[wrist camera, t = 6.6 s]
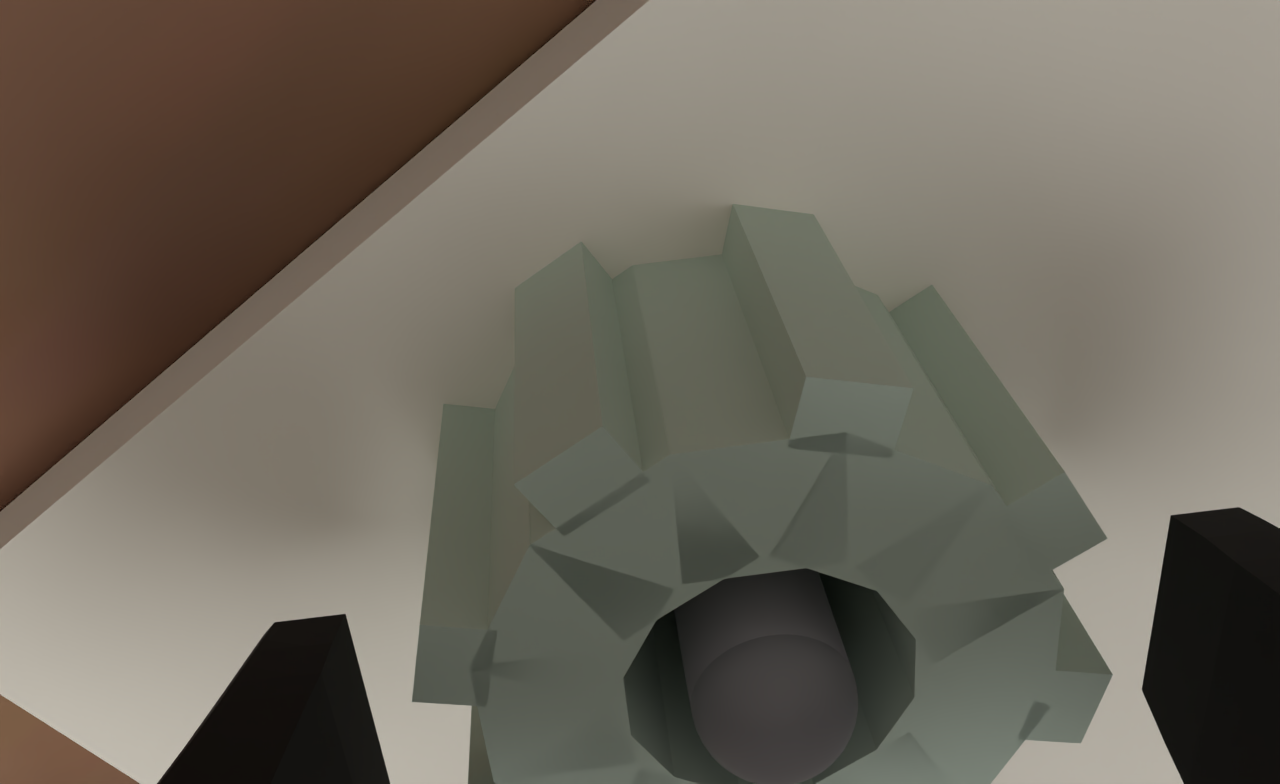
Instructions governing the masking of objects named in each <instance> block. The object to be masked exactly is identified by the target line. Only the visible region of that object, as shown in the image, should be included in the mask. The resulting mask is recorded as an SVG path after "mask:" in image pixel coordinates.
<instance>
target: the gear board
mask: <svg viewBox="0 0 1280 784" xmlns="http://www.w3.org/2000/svg"><path fill="white" fill-rule="evenodd" d="M733 204H738V205H746V206H753V207H761V208H769V209H776V210H784V211H792V212H799V213H807V214H814V216H815V217H816V219H817V221H818V223H819V224H820V226H821V228H822V230H823V231H824V233H825V235H826V237H827V238H828V240H829V242H830V244H831V245H832V247H833V249H834V251H835V252H836V254H837V256H838V258H839V259H840V261H841V263H842V264H843V266H844V268H845V270H846V271H847V273H848V275H849V277H850V278H851V280H852V282H853V284H854V285H855V286H856V287H859V288H861V289H864V290H866V291H869V292H871V293H874V294H876V295H878V296H879V298H880V300H881V301H882V303H883V304H884V306H885V307H886V309H887V310H888V311H889V312H890V311H892V310H893V309H895V308H896V307H898V306H900V305H901V304H903V303H904V302H906V301H907V300H909V299H910V298H912V297H913V296H915V295H917V294H918V293H920V292H921V291H923V290H924V289H926V288H927V287H929V286H931V285H933V287H934V288H935V289H936V291H937V292H938V294H939V295H940V296H941V298H942V299H943V301H944V302H945V304H946V305H947V306H948V308H949V309H950V311H951V312H952V313H953V315H954V316H955V318H956V319H957V320H958V322H959V323H960V325H961V326H962V328H963V329H964V330H965V332H966V333H967V335H968V336H969V337H970V339H971V340H972V342H973V343H974V344H975V346H976V347H977V349H978V350H979V352H980V353H981V354H982V356H983V357H984V359H985V360H986V361H987V363H988V364H989V366H990V367H991V368H992V370H993V371H994V373H995V374H996V376H997V377H998V378H999V380H1000V381H1001V383H1002V384H1003V385H1004V387H1005V388H1006V390H1007V391H1008V392H1009V394H1010V395H1011V397H1012V398H1013V400H1014V401H1015V402H1016V404H1017V405H1018V407H1019V408H1020V409H1021V411H1022V412H1023V414H1024V415H1025V416H1026V418H1027V419H1028V421H1029V422H1030V423H1031V425H1032V426H1033V428H1034V429H1035V431H1036V432H1037V433H1038V435H1039V436H1040V438H1041V439H1042V440H1043V442H1044V443H1045V445H1046V446H1047V447H1048V449H1049V450H1050V452H1051V453H1052V455H1053V456H1054V457H1055V459H1056V460H1057V462H1058V463H1059V464H1060V466H1061V467H1062V469H1063V470H1064V471H1065V473H1066V475H1067V476H1068V478H1069V479H1070V481H1071V482H1072V484H1073V485H1074V487H1075V489H1076V490H1077V492H1078V493H1079V495H1080V496H1081V498H1082V499H1083V501H1084V503H1085V504H1086V506H1087V507H1088V509H1089V510H1090V512H1091V513H1092V515H1093V517H1094V518H1095V520H1096V521H1097V523H1098V524H1099V526H1100V527H1101V529H1102V530H1103V532H1104V534H1105V535H1106V537H1107V538H1108V539H1106V540H1104V541H1103V542H1101V543H1099V544H1097V545H1096V546H1094V547H1092V548H1090V549H1089V550H1087V551H1085V552H1083V553H1081V554H1080V555H1078V556H1076V557H1074V558H1073V559H1071V560H1069V561H1067V562H1066V563H1064V564H1062V565H1060V566H1059V567H1057V568H1055V569H1053V572H1054V573H1055V575H1056V576H1057V578H1058V580H1059V581H1060V583H1061V585H1062V586H1063V588H1064V595H1065V597H1066V599H1067V600H1068V602H1069V604H1070V605H1071V607H1072V608H1073V610H1074V612H1075V613H1076V615H1077V617H1078V618H1079V620H1080V622H1081V623H1082V625H1083V626H1084V628H1085V630H1086V631H1087V633H1088V635H1089V636H1090V638H1091V640H1092V641H1093V643H1094V644H1095V646H1096V648H1097V649H1098V651H1099V653H1100V654H1101V656H1102V658H1103V659H1104V661H1105V662H1106V664H1107V666H1108V667H1109V669H1110V671H1111V672H1112V674H1113V676H1112V678H1111V680H1110V682H1109V684H1108V686H1107V689H1106V691H1105V693H1104V695H1103V697H1102V699H1101V701H1100V704H1099V706H1098V708H1097V710H1096V712H1095V714H1094V716H1093V719H1092V721H1091V723H1090V725H1089V727H1088V729H1087V731H1086V734H1085V736H1084V738H1083V740H1082V742H1081V743H1066V742H1050V741H1034V740H1025V741H1024V742H1023V744H1022V745H1021V746H1020V747H1019V749H1018V750H1017V751H1016V752H1015V754H1014V755H1013V756H1012V757H1011V759H1010V760H1009V761H1008V763H1007V764H1006V765H1005V766H1004V768H1003V769H1002V770H1001V771H1000V773H999V774H998V775H997V776H996V778H995V779H994V780H993V781H992V783H991V784H1184V783H1183V781H1182V779H1181V777H1180V774H1179V772H1178V770H1177V768H1176V766H1175V764H1174V762H1173V760H1172V758H1171V755H1170V753H1169V751H1168V749H1167V747H1166V745H1165V742H1164V740H1163V738H1162V735H1161V733H1160V731H1159V729H1158V726H1157V724H1156V722H1155V719H1154V717H1153V715H1152V712H1151V710H1150V708H1149V705H1148V703H1147V701H1146V699H1145V696H1144V694H1143V692H1142V685H1143V679H1144V673H1145V667H1146V661H1147V655H1148V649H1149V643H1150V637H1151V631H1152V625H1153V619H1154V613H1155V607H1156V601H1157V595H1158V589H1159V583H1160V577H1161V571H1162V564H1163V558H1164V552H1165V546H1166V540H1167V534H1168V528H1169V522H1170V516H1171V515H1177V514H1185V513H1194V512H1202V511H1210V510H1219V509H1227V508H1235V507H1240V508H1242V509H1244V510H1246V511H1248V512H1250V513H1252V514H1254V515H1256V516H1258V517H1260V518H1262V519H1263V520H1265V521H1267V522H1269V523H1271V524H1273V525H1274V526H1276V527H1278V528H1280V0H596V1H595V2H594V3H593V4H592V5H590V6H589V7H588V8H587V9H586V10H585V11H583V12H582V13H581V14H580V15H579V16H578V17H576V18H575V19H574V20H573V21H572V22H571V23H569V24H568V25H567V26H566V27H565V28H564V29H562V30H561V31H560V32H559V33H558V34H557V35H555V36H554V37H553V38H552V39H551V40H550V41H548V42H547V43H546V44H545V45H544V46H543V47H541V48H540V49H539V50H538V51H537V52H536V53H534V54H533V55H532V56H531V57H530V58H529V59H527V60H526V61H525V62H524V63H523V64H522V65H520V66H519V67H518V68H517V69H516V70H515V71H513V72H512V73H511V74H510V75H509V76H508V77H506V78H505V79H504V80H503V81H502V82H501V83H499V84H498V85H497V86H496V87H495V88H494V89H492V90H491V91H490V92H489V93H488V94H487V95H485V96H484V97H483V98H482V99H481V100H480V101H478V102H477V103H476V104H475V105H474V106H473V107H471V108H470V109H469V110H468V111H467V112H466V113H464V114H463V115H462V116H461V117H460V118H459V119H458V120H456V121H455V122H454V123H453V124H452V125H451V126H449V127H448V128H447V129H446V130H445V131H444V132H442V133H441V134H440V135H439V136H438V137H437V138H435V139H434V140H433V141H432V142H431V143H430V144H428V145H427V146H426V147H425V148H424V149H423V150H421V151H420V152H419V153H418V154H417V155H416V156H414V157H413V158H412V159H411V160H410V161H409V162H407V163H406V164H405V165H404V166H403V167H402V168H400V169H399V170H398V171H397V172H396V173H395V174H393V175H392V176H391V177H390V178H389V179H388V180H386V181H385V182H384V183H383V184H382V185H381V186H379V187H378V188H377V189H376V190H375V191H374V192H372V193H371V194H370V195H369V196H368V197H367V198H365V199H364V200H363V201H362V202H361V203H360V204H358V205H357V206H356V207H355V208H354V209H353V210H351V211H350V212H349V213H348V214H347V215H346V216H344V217H343V218H342V219H341V220H340V221H339V222H337V223H336V224H335V225H334V226H333V227H332V228H330V229H329V230H328V231H327V232H326V233H325V234H323V235H322V236H321V237H320V238H319V239H318V240H316V241H315V242H314V243H313V244H312V245H311V246H309V247H308V248H307V249H306V250H305V251H304V252H302V253H301V254H300V255H299V256H298V257H297V258H295V259H294V260H293V261H292V262H291V263H290V264H288V265H287V266H286V267H285V268H284V269H283V270H281V271H280V272H279V273H278V274H277V275H276V276H275V277H273V278H272V279H271V280H270V281H269V282H268V283H266V284H265V285H264V286H263V287H262V288H261V289H259V290H258V291H257V292H256V293H255V294H254V295H252V296H251V297H250V298H249V299H248V300H247V301H245V302H244V303H243V304H242V305H241V306H240V307H238V308H237V309H236V310H235V311H234V312H233V313H231V314H230V315H229V316H228V317H227V318H226V319H224V320H223V321H222V322H221V323H220V324H219V325H217V326H216V327H215V328H214V329H213V330H212V331H210V332H209V333H208V334H207V335H206V336H205V337H203V338H202V339H201V340H200V341H199V342H198V343H196V344H195V345H194V346H193V347H192V348H191V349H189V350H188V351H187V352H186V353H185V354H184V355H182V356H181V357H180V358H179V359H178V360H177V361H175V362H174V363H173V364H172V365H171V366H170V367H168V368H167V369H166V370H165V371H164V372H163V373H161V374H160V375H159V376H158V377H157V378H156V379H154V380H153V381H152V382H151V383H150V384H149V385H147V386H146V387H145V388H144V389H143V390H142V391H140V392H139V393H138V394H137V395H136V396H135V397H133V398H132V399H131V400H130V401H129V402H128V403H126V404H125V405H124V406H123V407H122V408H121V409H119V410H118V411H117V412H116V413H115V414H114V415H112V416H111V417H110V418H109V419H108V420H107V421H105V422H104V423H103V424H102V425H101V426H100V427H99V428H97V429H96V430H95V431H94V432H93V433H92V434H90V435H89V436H88V437H87V438H86V439H85V440H83V441H82V442H81V443H80V444H79V445H78V446H76V447H75V448H74V449H73V450H72V451H71V452H69V453H68V454H67V455H66V456H65V457H64V458H62V459H61V460H60V461H59V462H58V463H57V464H55V465H54V466H53V467H52V468H51V469H50V470H48V471H47V472H46V473H45V474H44V475H43V476H41V477H40V478H39V479H38V480H37V481H36V482H34V483H33V484H32V485H31V486H30V487H29V488H27V489H26V490H25V491H24V492H23V493H22V494H20V495H19V496H18V497H17V498H16V499H15V500H13V501H12V502H11V503H10V504H9V505H8V506H6V507H5V508H4V509H3V510H2V511H1V512H0V694H1V695H2V696H4V697H5V698H7V699H8V700H10V701H12V702H13V703H15V704H16V705H18V706H19V707H21V708H23V709H24V710H26V711H27V712H29V713H30V714H32V715H34V716H35V717H37V718H38V719H40V720H41V721H43V722H45V723H46V724H48V725H49V726H51V727H52V728H54V729H56V730H57V731H59V732H60V733H62V734H63V735H65V736H66V737H68V738H70V739H71V740H73V741H74V742H76V743H77V744H79V745H81V746H82V747H84V748H85V749H87V750H88V751H90V752H92V753H93V754H95V755H96V756H98V757H99V758H101V759H103V760H104V761H106V762H107V763H109V764H110V765H112V766H114V767H115V768H117V769H118V770H120V771H121V772H123V773H125V774H126V775H128V776H129V777H131V778H132V779H134V780H136V781H137V782H139V783H140V784H157V783H158V782H159V780H160V779H161V778H162V776H163V775H164V774H165V772H166V771H167V770H168V768H169V767H170V766H171V764H172V763H173V762H174V760H175V759H176V758H177V756H178V755H179V754H180V752H181V751H182V750H183V748H184V747H185V746H186V744H187V743H188V741H189V740H190V739H191V737H192V736H193V734H194V733H195V732H196V730H197V729H198V727H199V726H200V725H201V723H202V722H203V720H204V719H205V718H206V716H207V715H208V713H209V712H210V711H211V709H212V708H213V706H214V705H215V704H216V702H217V701H218V699H219V698H220V696H221V695H222V694H223V692H224V691H225V689H226V688H227V686H228V685H229V684H230V682H231V681H232V679H233V678H234V676H235V675H236V674H237V672H238V671H239V669H240V668H241V666H242V665H243V664H244V662H245V661H246V659H247V658H248V656H249V655H250V654H251V652H252V651H253V649H254V648H255V646H256V645H257V644H258V642H259V641H260V639H261V638H262V637H263V635H264V634H265V633H266V632H267V630H268V629H269V628H270V627H271V626H272V625H273V623H274V622H281V621H289V620H297V619H306V618H314V617H323V616H331V615H339V614H346V617H347V621H348V625H349V629H350V633H351V636H352V640H353V644H354V648H355V652H356V655H357V659H358V663H359V667H360V670H361V674H362V678H363V682H364V686H365V689H366V693H367V697H368V701H369V705H370V708H371V712H372V716H373V720H374V723H375V727H376V731H377V735H378V739H379V742H380V746H381V750H382V754H383V758H384V761H385V765H386V769H387V773H388V776H389V780H390V784H468V771H469V749H470V728H471V707H472V706H468V705H452V704H435V703H419V702H412V695H413V685H414V675H415V666H416V656H417V646H418V637H419V627H420V618H421V608H422V599H423V590H424V580H425V571H426V562H427V552H428V543H429V534H430V524H431V515H432V506H433V496H434V487H435V478H436V469H437V459H438V450H439V441H440V431H441V422H442V413H443V404H450V405H460V406H470V407H480V408H490V409H495V408H496V406H497V403H498V401H499V399H500V397H501V395H502V392H503V390H504V388H505V386H506V384H507V381H508V379H509V377H510V375H511V373H512V370H513V368H514V362H515V288H516V287H517V286H519V285H520V284H522V283H523V282H524V281H526V280H527V279H529V278H530V277H531V276H533V275H534V274H536V273H537V272H539V271H540V270H541V269H543V268H544V267H546V266H547V265H548V264H550V263H551V262H553V261H554V260H556V259H557V258H558V257H560V256H561V255H563V254H564V253H565V252H567V251H568V250H570V249H571V248H572V247H574V246H575V245H577V244H578V243H580V242H582V243H583V244H584V245H585V247H586V248H587V249H588V250H589V251H590V253H591V254H592V255H593V256H594V258H595V259H596V260H597V261H598V263H599V264H600V265H601V266H602V268H603V269H604V270H605V271H606V272H607V274H608V275H609V276H610V277H611V279H613V278H615V277H616V276H618V275H619V274H621V273H622V272H623V271H625V270H626V269H628V268H629V267H631V266H632V265H639V264H647V263H655V262H663V261H671V260H680V259H688V258H696V257H704V256H712V255H720V254H722V251H723V246H724V242H725V237H726V232H727V228H728V223H729V218H730V214H731V209H732V205H733ZM674 613H675V619H676V625H677V631H678V637H679V643H680V648H681V654H682V660H683V666H684V672H685V678H686V684H687V690H688V695H689V701H690V707H691V713H692V717H693V721H694V724H695V728H696V730H697V732H698V735H699V737H700V739H701V741H702V743H703V744H704V746H705V747H706V749H707V750H708V751H709V753H710V754H711V756H712V757H713V758H714V759H715V760H716V761H717V762H718V763H719V764H720V765H721V766H722V767H724V768H725V769H726V770H728V771H729V772H731V773H732V774H734V775H736V776H738V777H739V778H741V779H744V780H746V781H749V782H752V783H756V784H797V783H800V782H803V781H806V780H809V779H811V778H813V777H815V776H817V775H819V774H820V773H822V772H823V771H825V770H826V769H827V768H828V767H829V766H831V765H832V764H833V763H834V762H835V760H836V759H837V758H838V757H839V756H840V755H841V753H842V752H843V751H844V749H845V747H846V746H847V744H848V742H849V740H850V738H851V736H852V733H853V730H854V727H855V724H856V719H857V712H858V691H857V686H856V681H855V677H854V674H853V671H852V668H851V665H850V662H849V660H848V657H847V654H846V651H845V648H844V645H843V642H842V639H841V636H840V633H839V630H838V628H837V625H836V622H835V619H834V616H833V613H832V610H831V607H830V604H829V601H828V598H827V596H826V593H825V590H824V587H823V584H822V581H821V578H820V575H819V572H817V571H814V570H811V569H808V568H803V569H795V570H788V571H780V572H772V573H765V574H757V575H749V576H742V577H734V578H726V579H723V580H721V581H720V582H718V583H717V584H715V585H713V586H712V587H710V588H708V589H707V590H705V591H703V592H702V593H700V594H699V595H697V596H695V597H694V598H692V599H690V600H689V601H687V602H685V603H684V604H682V605H680V606H679V607H677V608H676V609H674Z"/></svg>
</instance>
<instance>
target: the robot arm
mask: <svg viewBox="0 0 1280 784" xmlns="http://www.w3.org/2000/svg"><path fill="white" fill-rule="evenodd" d="M1142 692H1143V694H1144V696H1145V699H1146V701H1147V703H1148V705H1149V708H1150V710H1151V712H1152V715H1153V717H1154V719H1155V722H1156V724H1157V726H1158V729H1159V731H1160V733H1161V735H1162V738H1163V740H1164V742H1165V745H1166V747H1167V749H1168V751H1169V753H1170V755H1171V758H1172V760H1173V762H1174V764H1175V766H1176V768H1177V770H1178V772H1179V774H1180V777H1181V779H1182V781H1183V783H1184V784H1280V528H1278V527H1276V526H1274V525H1273V524H1271V523H1269V522H1267V521H1265V520H1263V519H1262V518H1260V517H1258V516H1256V515H1254V514H1252V513H1250V512H1248V511H1246V510H1244V509H1242V508H1240V507H1235V508H1227V509H1219V510H1210V511H1202V512H1194V513H1185V514H1177V515H1171V516H1170V522H1169V528H1168V534H1167V540H1166V546H1165V552H1164V558H1163V564H1162V571H1161V577H1160V583H1159V589H1158V595H1157V601H1156V607H1155V613H1154V619H1153V625H1152V631H1151V637H1150V643H1149V649H1148V655H1147V661H1146V667H1145V673H1144V679H1143V685H1142ZM157 784H390V780H389V776H388V773H387V769H386V765H385V761H384V758H383V754H382V750H381V746H380V742H379V739H378V735H377V731H376V727H375V723H374V720H373V716H372V712H371V708H370V705H369V701H368V697H367V693H366V689H365V686H364V682H363V678H362V674H361V670H360V667H359V663H358V659H357V655H356V652H355V648H354V644H353V640H352V636H351V633H350V629H349V625H348V621H347V617H346V614H339V615H331V616H323V617H314V618H306V619H297V620H289V621H281V622H274V623H273V625H272V626H271V627H270V628H269V629H268V630H267V632H266V633H265V634H264V635H263V637H262V638H261V639H260V641H259V642H258V644H257V645H256V646H255V648H254V649H253V651H252V652H251V654H250V655H249V656H248V658H247V659H246V661H245V662H244V664H243V665H242V666H241V668H240V669H239V671H238V672H237V674H236V675H235V676H234V678H233V679H232V681H231V682H230V684H229V685H228V686H227V688H226V689H225V691H224V692H223V694H222V695H221V696H220V698H219V699H218V701H217V702H216V704H215V705H214V706H213V708H212V709H211V711H210V712H209V713H208V715H207V716H206V718H205V719H204V720H203V722H202V723H201V725H200V726H199V727H198V729H197V730H196V732H195V733H194V734H193V736H192V737H191V739H190V740H189V741H188V743H187V744H186V746H185V747H184V748H183V750H182V751H181V752H180V754H179V755H178V756H177V758H176V759H175V760H174V762H173V763H172V764H171V766H170V767H169V768H168V770H167V771H166V772H165V774H164V775H163V776H162V778H161V779H160V780H159V782H158V783H157Z"/></svg>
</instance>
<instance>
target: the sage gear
mask: <svg viewBox="0 0 1280 784" xmlns="http://www.w3.org/2000/svg"><path fill="white" fill-rule="evenodd" d="M1106 539H1108V538H1107V537H1106V535H1105V534H1104V532H1103V530H1102V529H1101V527H1100V526H1099V524H1098V523H1097V521H1096V520H1095V518H1094V517H1093V515H1092V513H1091V512H1090V510H1089V509H1088V507H1087V506H1086V504H1085V503H1084V501H1083V499H1082V498H1081V496H1080V495H1079V493H1078V492H1077V490H1076V489H1075V487H1074V485H1073V484H1072V482H1071V481H1070V479H1069V478H1068V476H1067V475H1066V473H1065V471H1064V470H1063V469H1062V467H1061V466H1060V464H1059V463H1058V462H1057V460H1056V459H1055V457H1054V456H1053V455H1052V453H1051V452H1050V450H1049V449H1048V447H1047V446H1046V445H1045V443H1044V442H1043V440H1042V439H1041V438H1040V436H1039V435H1038V433H1037V432H1036V431H1035V429H1034V428H1033V426H1032V425H1031V423H1030V422H1029V421H1028V419H1027V418H1026V416H1025V415H1024V414H1023V412H1022V411H1021V409H1020V408H1019V407H1018V405H1017V404H1016V402H1015V401H1014V400H1013V398H1012V397H1011V395H1010V394H1009V392H1008V391H1007V390H1006V388H1005V387H1004V385H1003V384H1002V383H1001V381H1000V380H999V378H998V377H997V376H996V374H995V373H994V371H993V370H992V368H991V367H990V366H989V364H988V363H987V361H986V360H985V359H984V357H983V356H982V354H981V353H980V352H979V350H978V349H977V347H976V346H975V344H974V343H973V342H972V340H971V339H970V337H969V336H968V335H967V333H966V332H965V330H964V329H963V328H962V326H961V325H960V323H959V322H958V320H957V319H956V318H955V316H954V315H953V313H952V312H951V311H950V309H949V308H948V306H947V305H946V304H945V302H944V301H943V299H942V298H941V296H940V295H939V294H938V292H937V291H936V289H935V288H934V287H933V285H931V286H929V287H927V288H926V289H924V290H923V291H921V292H920V293H918V294H917V295H915V296H913V297H912V298H910V299H909V300H907V301H906V302H904V303H903V304H901V305H900V306H898V307H896V308H895V309H893V310H892V311H890V312H889V311H888V310H887V309H886V307H885V306H884V304H883V303H882V301H881V300H880V298H879V296H878V295H876V294H874V293H871V292H869V291H866V290H864V289H861V288H859V287H856V286H855V285H854V284H853V282H852V280H851V278H850V277H849V275H848V273H847V271H846V270H845V268H844V266H843V264H842V263H841V261H840V259H839V258H838V256H837V254H836V252H835V251H834V249H833V247H832V245H831V244H830V242H829V240H828V238H827V237H826V235H825V233H824V231H823V230H822V228H821V226H820V224H819V223H818V221H817V219H816V217H815V216H814V214H807V213H799V212H792V211H784V210H776V209H769V208H761V207H753V206H746V205H738V204H733V205H732V209H731V214H730V218H729V223H728V228H727V232H726V237H725V242H724V246H723V251H722V254H720V255H712V256H704V257H696V258H688V259H680V260H671V261H663V262H655V263H647V264H639V265H632V266H631V267H629V268H628V269H626V270H625V271H623V272H622V273H621V274H619V275H618V276H616V277H615V278H613V279H611V277H610V276H609V275H608V274H607V272H606V271H605V270H604V269H603V268H602V266H601V265H600V264H599V263H598V261H597V260H596V259H595V258H594V256H593V255H592V254H591V253H590V251H589V250H588V249H587V248H586V247H585V245H584V244H583V243H582V242H580V243H578V244H577V245H575V246H574V247H572V248H571V249H570V250H568V251H567V252H565V253H564V254H563V255H561V256H560V257H558V258H557V259H556V260H554V261H553V262H551V263H550V264H548V265H547V266H546V267H544V268H543V269H541V270H540V271H539V272H537V273H536V274H534V275H533V276H531V277H530V278H529V279H527V280H526V281H524V282H523V283H522V284H520V285H519V286H517V287H516V288H515V362H514V368H513V370H512V373H511V375H510V377H509V379H508V381H507V384H506V386H505V388H504V390H503V392H502V395H501V397H500V399H499V401H498V403H497V406H496V408H495V409H490V408H480V407H470V406H460V405H450V404H443V413H442V422H441V431H440V441H439V450H438V459H437V469H436V478H435V487H434V496H433V506H432V515H431V524H430V534H429V543H428V552H427V562H426V571H425V580H424V590H423V599H422V608H421V618H420V627H419V637H418V646H417V656H416V666H415V675H414V685H413V695H412V702H419V703H435V704H452V705H468V706H472V707H471V728H470V749H469V771H468V784H756V783H752V782H749V781H746V780H744V779H741V778H739V777H738V776H736V775H734V774H732V773H731V772H729V771H728V770H726V769H725V768H724V767H722V766H721V765H720V764H719V763H718V762H717V761H716V760H715V759H714V758H713V757H712V756H711V754H710V753H709V751H708V750H707V749H706V747H705V746H704V744H703V743H702V741H701V739H700V737H699V735H698V732H697V730H696V728H695V724H694V721H693V717H692V713H691V707H690V701H689V695H688V690H687V684H686V678H685V672H684V666H683V660H682V654H681V648H680V643H679V637H678V631H677V625H676V619H675V613H674V609H676V608H677V607H679V606H680V605H682V604H684V603H685V602H687V601H689V600H690V599H692V598H694V597H695V596H697V595H699V594H700V593H702V592H703V591H705V590H707V589H708V588H710V587H712V586H713V585H715V584H717V583H718V582H720V581H721V580H723V579H726V578H734V577H742V576H749V575H757V574H765V573H772V572H780V571H788V570H795V569H803V568H808V569H811V570H814V571H817V572H819V575H820V578H821V581H822V584H823V587H824V590H825V593H826V596H827V598H828V601H829V604H830V607H831V610H832V613H833V616H834V619H835V622H836V625H837V628H838V630H839V633H840V636H841V639H842V642H843V645H844V648H845V651H846V654H847V657H848V660H849V662H850V665H851V668H852V671H853V674H854V677H855V681H856V686H857V691H858V712H857V719H856V724H855V727H854V730H853V733H852V736H851V738H850V740H849V742H848V744H847V746H846V747H845V749H844V751H843V752H842V753H841V755H840V756H839V757H838V758H837V759H836V760H835V762H834V763H833V764H832V765H831V766H829V767H828V768H827V769H826V770H825V771H823V772H822V773H820V774H819V775H817V776H815V777H813V778H811V779H809V780H806V781H803V782H800V783H797V784H991V783H992V781H993V780H994V779H995V778H996V776H997V775H998V774H999V773H1000V771H1001V770H1002V769H1003V768H1004V766H1005V765H1006V764H1007V763H1008V761H1009V760H1010V759H1011V757H1012V756H1013V755H1014V754H1015V752H1016V751H1017V750H1018V749H1019V747H1020V746H1021V745H1022V744H1023V742H1024V741H1025V740H1034V741H1050V742H1066V743H1081V742H1082V740H1083V738H1084V736H1085V734H1086V731H1087V729H1088V727H1089V725H1090V723H1091V721H1092V719H1093V716H1094V714H1095V712H1096V710H1097V708H1098V706H1099V704H1100V701H1101V699H1102V697H1103V695H1104V693H1105V691H1106V689H1107V686H1108V684H1109V682H1110V680H1111V678H1112V676H1113V674H1112V672H1111V671H1110V669H1109V667H1108V666H1107V664H1106V662H1105V661H1104V659H1103V658H1102V656H1101V654H1100V653H1099V651H1098V649H1097V648H1096V646H1095V644H1094V643H1093V641H1092V640H1091V638H1090V636H1089V635H1088V633H1087V631H1086V630H1085V628H1084V626H1083V625H1082V623H1081V622H1080V620H1079V618H1078V617H1077V615H1076V613H1075V612H1074V610H1073V608H1072V607H1071V605H1070V604H1069V602H1068V600H1067V599H1066V597H1065V595H1064V588H1063V586H1062V585H1061V583H1060V581H1059V580H1058V578H1057V576H1056V575H1055V573H1054V572H1053V569H1055V568H1057V567H1059V566H1060V565H1062V564H1064V563H1066V562H1067V561H1069V560H1071V559H1073V558H1074V557H1076V556H1078V555H1080V554H1081V553H1083V552H1085V551H1087V550H1089V549H1090V548H1092V547H1094V546H1096V545H1097V544H1099V543H1101V542H1103V541H1104V540H1106Z"/></svg>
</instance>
